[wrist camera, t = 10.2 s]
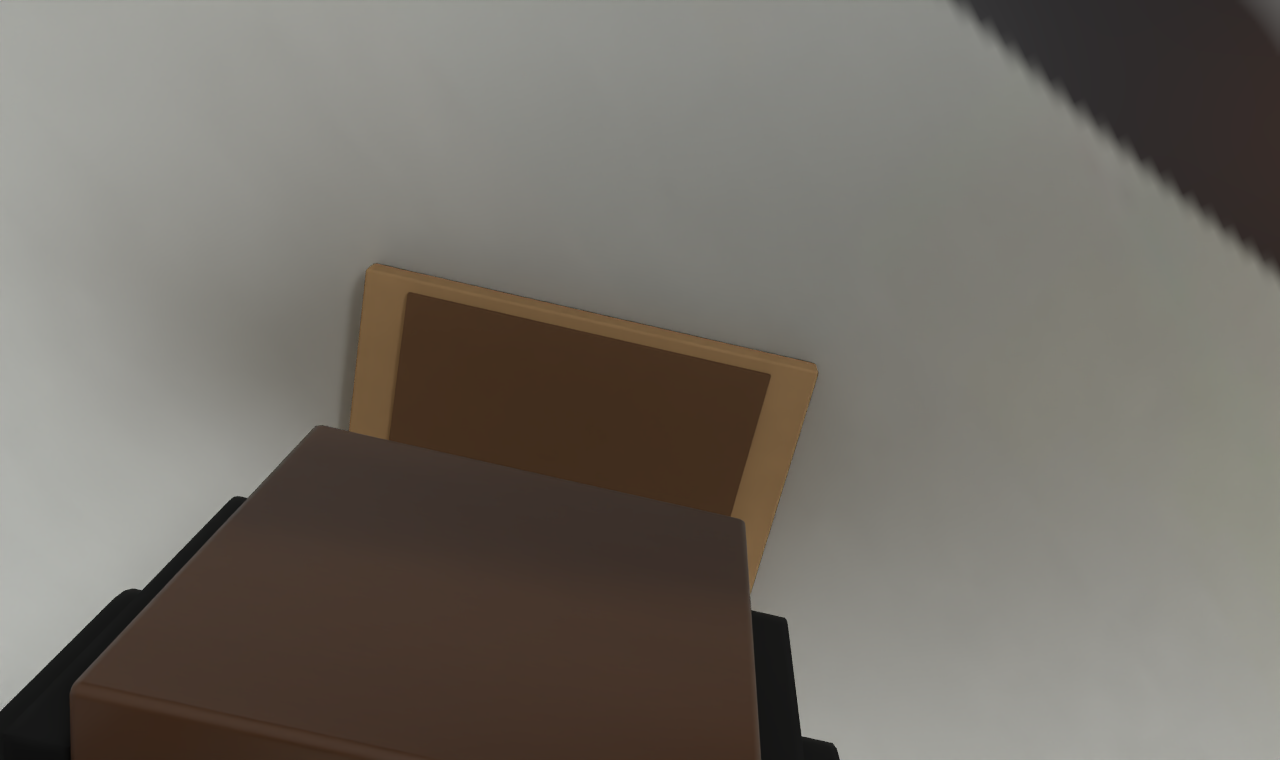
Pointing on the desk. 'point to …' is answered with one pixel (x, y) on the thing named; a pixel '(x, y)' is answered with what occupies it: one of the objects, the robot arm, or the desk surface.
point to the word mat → (579, 396)
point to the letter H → (435, 623)
